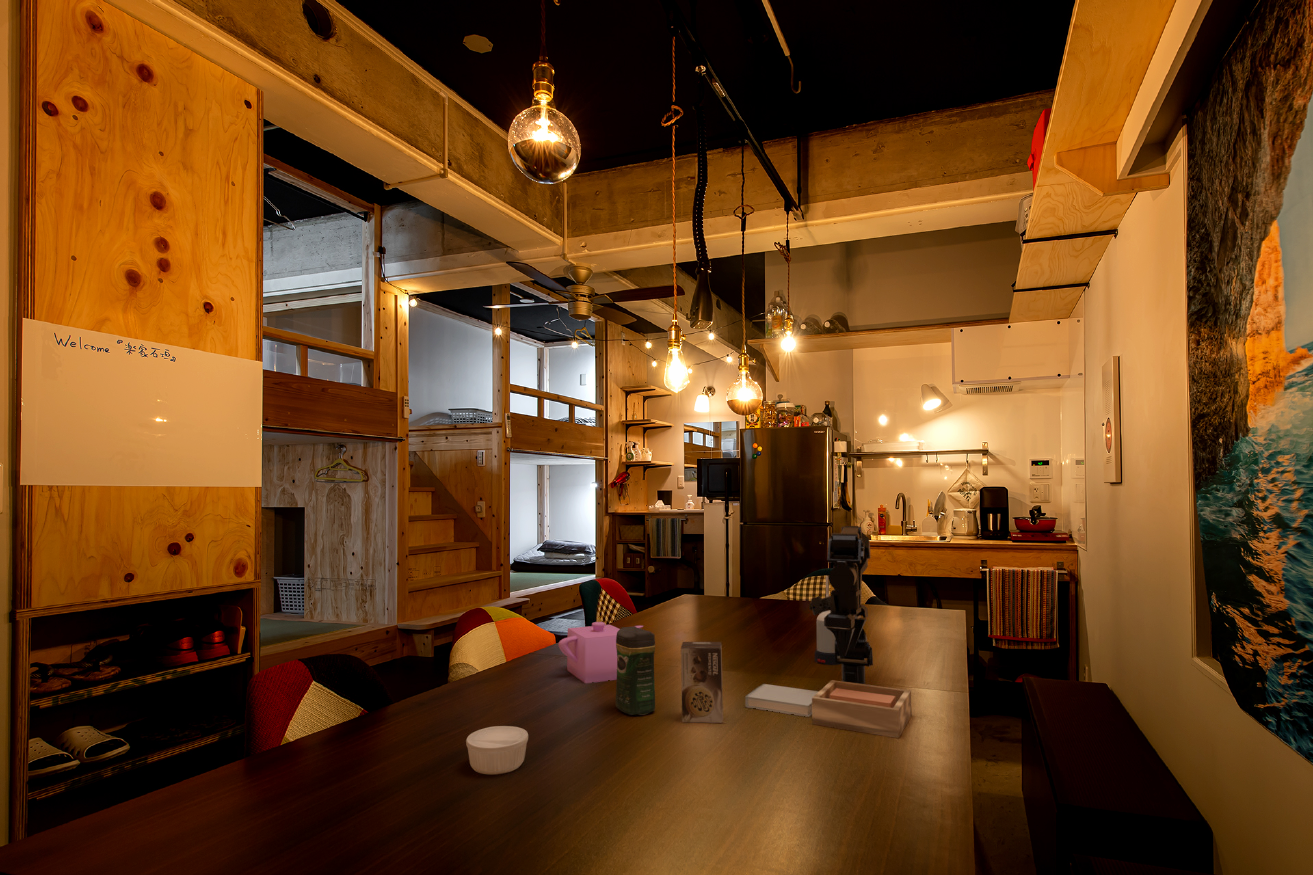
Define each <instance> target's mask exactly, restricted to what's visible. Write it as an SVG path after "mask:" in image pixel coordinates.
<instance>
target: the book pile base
mask: <svg viewBox="0 0 1313 875" xmlns="http://www.w3.org/2000/svg"><path fill="white" fill-rule="evenodd" d="M818 692H819V691H818V690H809V689H803V688H797V687H796V688H795V687H788V686H782V685H781V686H780V685H775V684H774V685H773V684H766V683H762V684H761V685H760V686H757V687H756V688H755V689H753V690H752V691H751V692H749V693H748V694H747V695H745V696H744V697H745V698H744V700H745V704H744V705H745V708H749V709H753V708H756V710H761V711H766V710H768V712H772V711H773V713H779V712H780V713H779V714H787V715H791V714H794V715H793V716H797V717H799V716H800V717H804V716H805V717H806V718H809V717H811V716H812V698H813V697H814V696H815V695H816V694H817V693H818Z"/></svg>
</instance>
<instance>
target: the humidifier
mask: <svg viewBox="0 0 1313 875" xmlns="http://www.w3.org/2000/svg"><path fill="white" fill-rule="evenodd" d="M829 588H830V587H829V575H826V576H825V597H828V596H830V590H829ZM829 613H830V610H829V611H825V612H822V613H819V614H818V616H817V618H816V649H815V650H814V662H815V663H816V662H817V664H820V665H827V666H838V665H840V664H836V662H835V636H834V634H833V633H832V632H831V631H830V630H828V629H827V628H826V626H824V617H826V616H827V615H828V614H829Z"/></svg>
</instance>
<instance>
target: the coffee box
mask: <svg viewBox="0 0 1313 875" xmlns="http://www.w3.org/2000/svg"><path fill="white" fill-rule="evenodd" d="M680 646H681V647H680V665H681V667H680V670H681V673H680V674H681V676H680V677H681V722H682V723H707V724H708V723H710V724H711V723H713V724H714V723H715V724H716V723H720V724H722V723H723V722H724V704H723V701H724V698H723V697H724V696H723V663H722V662H723V660H722V658H723V657H722V656H723V654H722V641H682V644H681V645H680Z"/></svg>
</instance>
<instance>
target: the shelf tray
mask: <svg viewBox="0 0 1313 875" xmlns="http://www.w3.org/2000/svg"><path fill="white" fill-rule="evenodd" d="M865 684H866V683H865ZM865 684H857V683H850V682H842V680H840V681H839V680H834V679H832V680H830V681H829V682H828V683H827V684H826V685H825V686H823V688H821V689H820V690H819V691H818V693H817V694H816V695H815V696H814V697H813V698H812V714H811V716H812V717H811V719H812V723H811V724H812V725H813V726H814V725H815V726H822V727H827V728H833V727H834V729H839V730H840V729H841V730H845V729H846V731H853V732H859V733H863V734H872V735H876V736H882V737H889V738H894V739H895V738H896V739H899V738H900V737H901V735H902V734H903V732H904V730H905V728H906V726H907V725H908V724H909V723H908V722H909V721H910V720H911V717H912V715H913V713H912V690H910V689H902V688H894V687H886V686H879V685H873V684H872V685H871V684H868V685H865ZM836 688H839V689H846V690H853V691H861V692H868V693H876V694H883V695H891V696H895V699H896V704H895V706H894V707H893V708H890V707H883V706H876V705H869V704H862V703H855V702H848V701H841V700H834V699H829V695H830V694H831V693H832V692H833V691H834V690H835V689H836Z"/></svg>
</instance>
